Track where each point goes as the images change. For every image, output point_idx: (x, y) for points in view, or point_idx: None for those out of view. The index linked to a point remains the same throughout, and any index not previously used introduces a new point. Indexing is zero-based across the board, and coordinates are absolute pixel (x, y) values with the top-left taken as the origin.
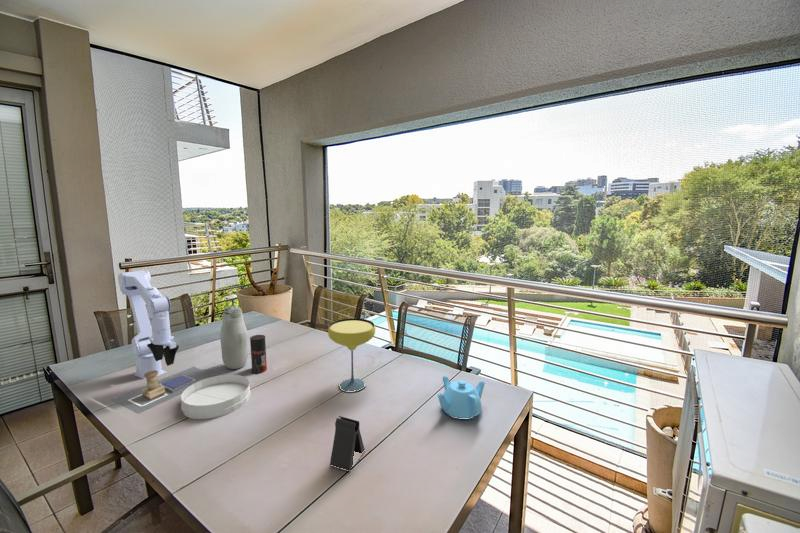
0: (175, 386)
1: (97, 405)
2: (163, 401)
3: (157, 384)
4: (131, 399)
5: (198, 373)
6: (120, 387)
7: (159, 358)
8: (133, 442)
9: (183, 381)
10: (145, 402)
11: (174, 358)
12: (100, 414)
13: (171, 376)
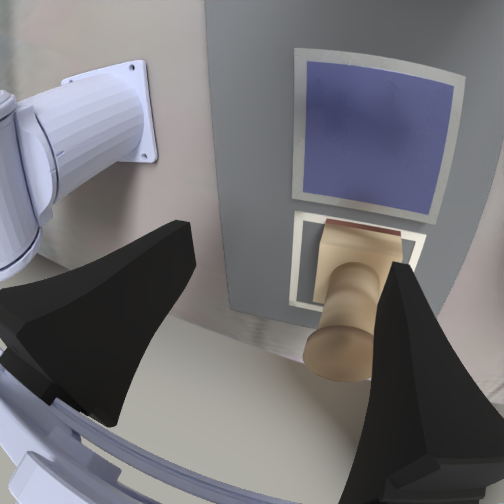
0: (428, 198)
1: (224, 324)
2: (449, 281)
3: (376, 289)
4: (297, 297)
5: None
6: (144, 232)
7: (183, 253)
8: (489, 395)
9: (421, 131)
10: None
11: (427, 301)
12: (292, 353)
13: (223, 75)
